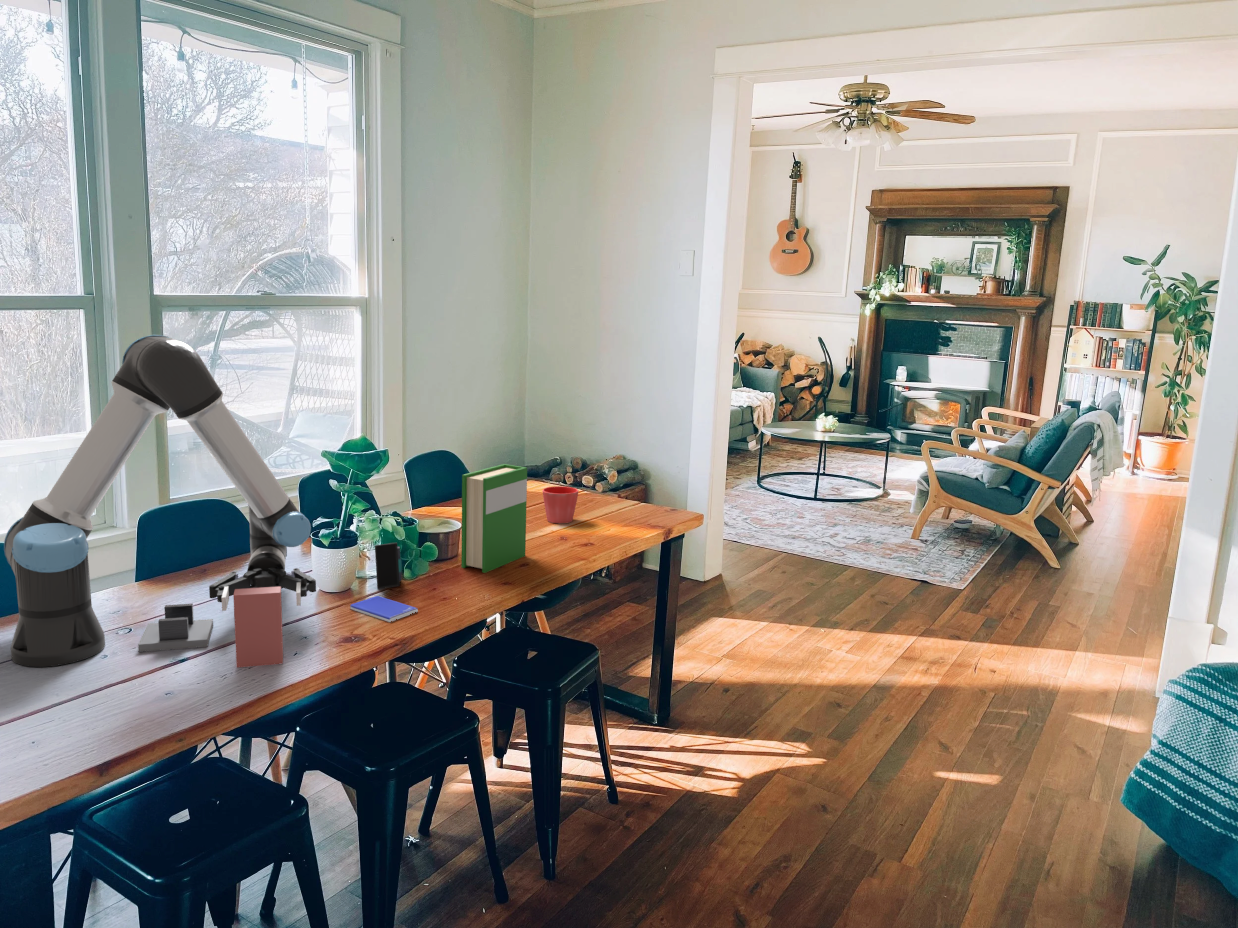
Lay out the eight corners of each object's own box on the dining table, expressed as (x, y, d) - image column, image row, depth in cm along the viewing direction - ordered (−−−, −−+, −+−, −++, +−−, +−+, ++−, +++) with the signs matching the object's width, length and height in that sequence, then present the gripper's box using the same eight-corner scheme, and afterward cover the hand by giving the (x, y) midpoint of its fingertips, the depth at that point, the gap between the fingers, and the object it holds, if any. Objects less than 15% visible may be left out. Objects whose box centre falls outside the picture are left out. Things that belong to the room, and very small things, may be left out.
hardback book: (485, 572, 230) (486, 478, 225) (461, 567, 233) (462, 474, 228) (525, 555, 245) (527, 467, 240) (502, 551, 248) (504, 463, 243)
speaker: (402, 587, 216) (400, 544, 214) (377, 589, 214) (374, 545, 213) (402, 580, 223) (400, 538, 222) (378, 582, 222) (375, 539, 220)
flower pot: (541, 515, 286) (542, 485, 284) (576, 516, 287) (577, 486, 286) (542, 524, 276) (542, 493, 274) (578, 525, 277) (579, 493, 275)
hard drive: (417, 607, 201) (378, 594, 208) (389, 617, 195) (349, 604, 201) (417, 614, 202) (378, 601, 208) (389, 624, 195) (350, 611, 202)
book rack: (138, 651, 175) (136, 624, 174) (148, 630, 185) (146, 604, 184) (207, 646, 179) (206, 619, 177) (213, 625, 189) (212, 600, 188)
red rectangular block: (236, 667, 170) (233, 595, 167) (237, 659, 173) (234, 589, 170) (282, 663, 172) (280, 592, 170) (283, 656, 176) (280, 586, 173)
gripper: (327, 581, 205) (328, 614, 185) (204, 588, 197) (192, 624, 177) (326, 548, 203) (328, 579, 183) (203, 554, 195) (190, 587, 176)
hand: (261, 601), depth 180 cm, fingers open, 13 cm apart
